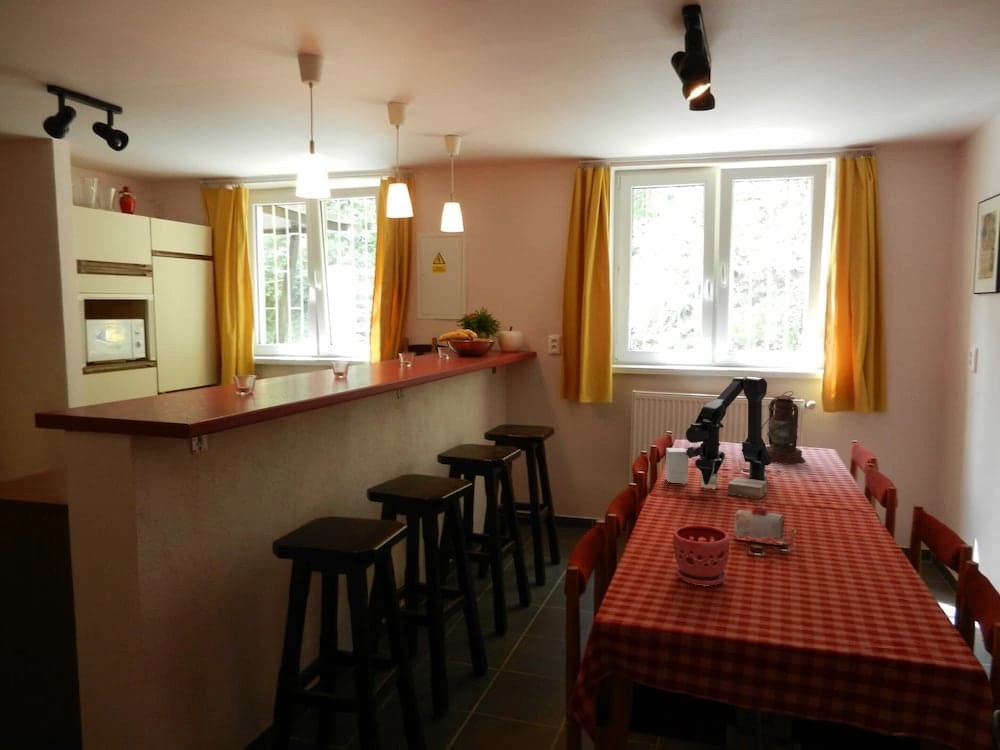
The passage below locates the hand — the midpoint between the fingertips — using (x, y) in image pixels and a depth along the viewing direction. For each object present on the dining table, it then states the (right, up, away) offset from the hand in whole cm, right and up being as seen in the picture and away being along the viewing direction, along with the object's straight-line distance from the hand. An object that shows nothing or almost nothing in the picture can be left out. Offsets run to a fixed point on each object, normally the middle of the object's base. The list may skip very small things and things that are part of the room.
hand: (709, 481), depth 254 cm
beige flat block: (+11, -3, -7) cm, 14 cm away
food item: (-3, -8, -57) cm, 57 cm away
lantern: (+47, +2, +49) cm, 67 cm away
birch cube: (0, -2, 0) cm, 2 cm away
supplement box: (-10, -2, +9) cm, 13 cm away
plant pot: (-28, -11, -85) cm, 91 cm away
